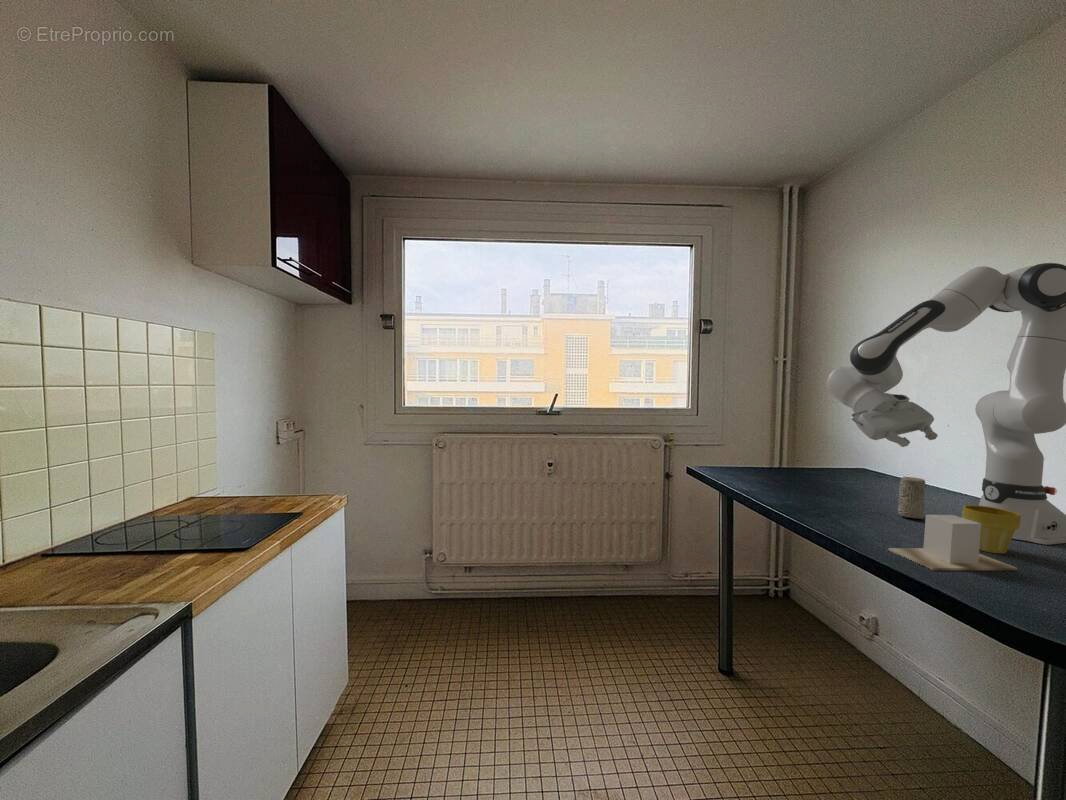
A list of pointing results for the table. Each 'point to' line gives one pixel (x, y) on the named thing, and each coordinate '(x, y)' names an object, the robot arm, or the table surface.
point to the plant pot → (993, 526)
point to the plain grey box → (952, 538)
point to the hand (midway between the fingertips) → (920, 441)
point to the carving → (911, 497)
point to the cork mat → (937, 564)
